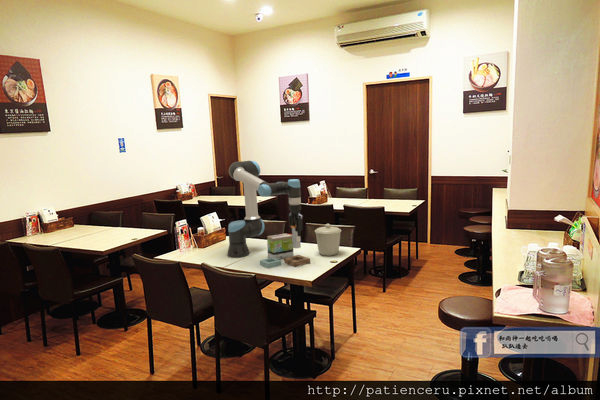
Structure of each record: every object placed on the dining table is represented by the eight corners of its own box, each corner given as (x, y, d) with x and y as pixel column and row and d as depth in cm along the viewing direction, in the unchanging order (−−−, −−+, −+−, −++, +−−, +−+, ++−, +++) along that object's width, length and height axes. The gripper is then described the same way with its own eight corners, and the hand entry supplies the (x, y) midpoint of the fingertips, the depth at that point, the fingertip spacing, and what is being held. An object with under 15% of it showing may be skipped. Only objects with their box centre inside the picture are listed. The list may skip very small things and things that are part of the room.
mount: (259, 264, 255) (259, 260, 255) (273, 261, 261) (272, 257, 260) (268, 268, 247) (267, 263, 247) (281, 265, 253) (281, 260, 252)
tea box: (274, 260, 263) (273, 238, 261) (267, 257, 272) (266, 236, 270) (294, 256, 271) (293, 235, 269) (286, 253, 280) (285, 232, 278)
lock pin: (291, 247, 255) (290, 225, 253) (297, 246, 258) (296, 224, 256) (295, 248, 251) (294, 226, 249) (301, 247, 254) (300, 225, 252)
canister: (311, 256, 270) (310, 225, 267) (321, 249, 286) (320, 220, 283) (336, 258, 262) (335, 227, 259) (345, 251, 278) (344, 221, 275)
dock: (284, 262, 258) (284, 258, 257) (299, 259, 265) (299, 254, 264) (295, 267, 248) (294, 262, 248) (310, 263, 255) (310, 258, 254)
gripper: (282, 203, 255) (284, 239, 259) (297, 206, 242) (299, 243, 245) (292, 202, 260) (293, 237, 263) (307, 204, 246) (309, 241, 250)
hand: (296, 240), depth 254 cm, fingers closed on lock pin, 4 cm apart
